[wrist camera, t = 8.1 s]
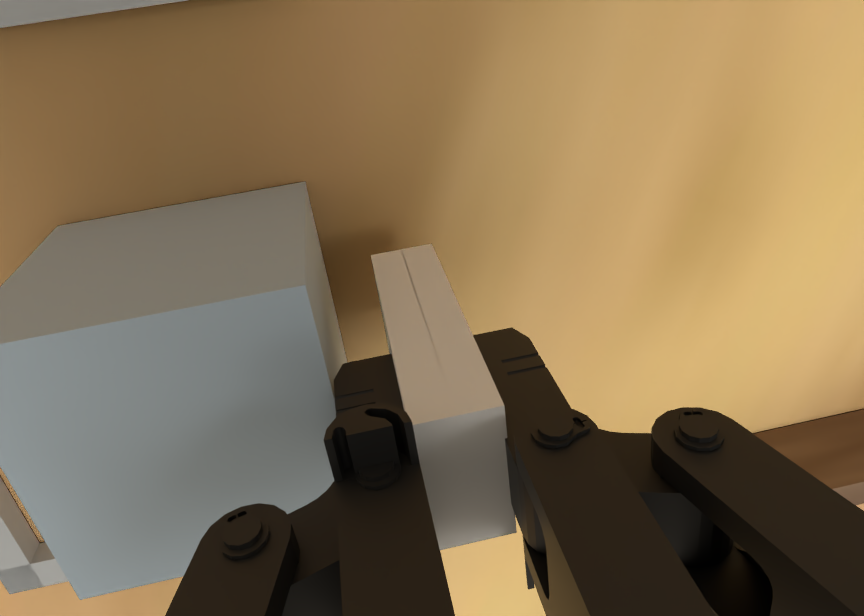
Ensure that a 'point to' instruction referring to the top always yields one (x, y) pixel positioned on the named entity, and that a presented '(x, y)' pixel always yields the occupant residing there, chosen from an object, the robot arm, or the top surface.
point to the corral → (3, 521)
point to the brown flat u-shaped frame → (826, 451)
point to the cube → (166, 379)
